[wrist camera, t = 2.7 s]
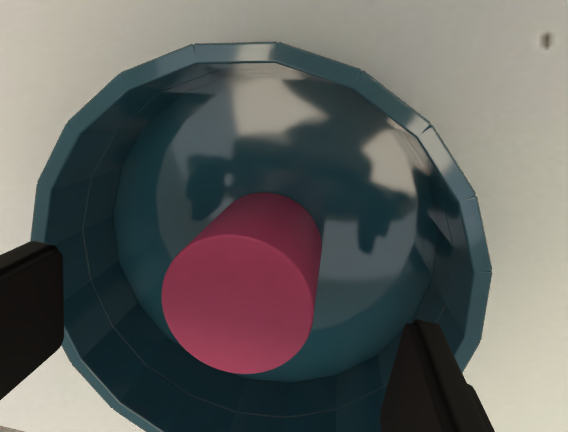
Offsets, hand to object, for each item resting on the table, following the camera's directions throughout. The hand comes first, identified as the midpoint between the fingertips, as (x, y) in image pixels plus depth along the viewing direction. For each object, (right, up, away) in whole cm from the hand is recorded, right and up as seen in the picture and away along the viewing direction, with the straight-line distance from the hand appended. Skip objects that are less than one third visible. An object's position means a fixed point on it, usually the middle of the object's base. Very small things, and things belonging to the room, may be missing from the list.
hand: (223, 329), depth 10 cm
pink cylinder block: (+1, +2, +5) cm, 6 cm away
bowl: (+1, +2, +6) cm, 6 cm away
